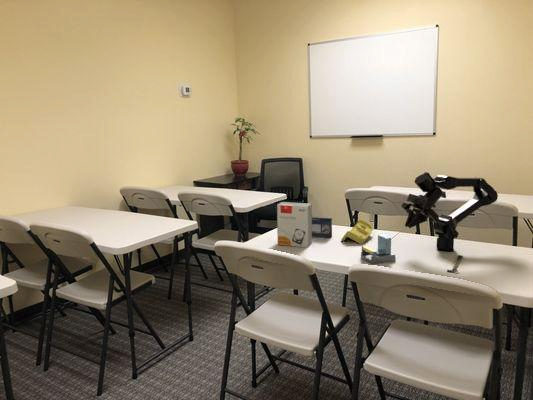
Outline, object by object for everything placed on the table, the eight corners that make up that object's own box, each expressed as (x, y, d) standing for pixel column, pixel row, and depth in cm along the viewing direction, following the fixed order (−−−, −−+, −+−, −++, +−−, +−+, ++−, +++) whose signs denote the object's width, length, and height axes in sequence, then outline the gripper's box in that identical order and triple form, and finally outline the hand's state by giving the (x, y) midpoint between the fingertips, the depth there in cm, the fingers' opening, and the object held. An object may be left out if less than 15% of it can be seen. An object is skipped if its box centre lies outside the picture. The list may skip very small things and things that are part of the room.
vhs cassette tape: (296, 236, 213) (295, 217, 211) (297, 234, 215) (297, 216, 214) (331, 238, 206) (331, 219, 205) (332, 236, 209) (332, 217, 207)
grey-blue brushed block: (382, 252, 176) (382, 234, 175) (390, 256, 171) (391, 237, 169) (371, 253, 175) (371, 235, 173) (379, 258, 169) (379, 239, 168)
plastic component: (364, 239, 194) (345, 229, 197) (357, 252, 197) (339, 241, 200) (375, 227, 210) (358, 217, 214) (369, 238, 214) (352, 229, 217)
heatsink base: (383, 254, 178) (383, 243, 178) (395, 260, 170) (395, 248, 169) (360, 257, 175) (360, 246, 174) (372, 264, 167) (372, 252, 166)
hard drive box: (277, 245, 198) (275, 204, 194) (282, 240, 205) (281, 201, 201) (308, 247, 192) (307, 206, 188) (312, 243, 199) (312, 203, 195)
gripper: (405, 184, 182) (383, 210, 181) (434, 190, 164) (410, 219, 163) (419, 200, 185) (398, 226, 184) (449, 207, 168) (425, 236, 167)
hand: (407, 226), depth 174 cm, fingers closed
